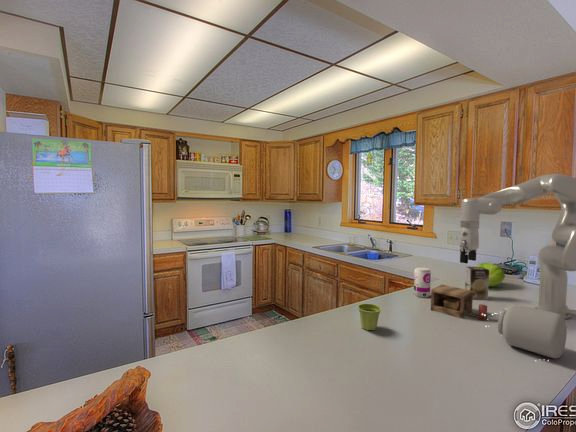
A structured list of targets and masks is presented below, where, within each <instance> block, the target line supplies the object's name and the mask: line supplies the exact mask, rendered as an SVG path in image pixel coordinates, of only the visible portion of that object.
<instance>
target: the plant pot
mask: <svg viewBox="0 0 576 432" xmlns="http://www.w3.org/2000/svg"><path fill="white" fill-rule="evenodd" d="M357 308H358V310H359V311H358V312H359V316H360V325H361V328H362V329H363V330H365V329H366V330H365V331H368V330H373V331H376V330H377V329H378V328H377V327H378V323H379V317H380V316H379V315H380V314H381V311H382V308H381V306H379V305H377V304H374V303H367V302H366V303H360V304H359V305H357Z"/></svg>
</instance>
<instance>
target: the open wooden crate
mask: <svg viewBox="0 0 576 432" xmlns="http://www.w3.org/2000/svg"><path fill="white" fill-rule="evenodd" d="M430 298H431V299H430V311H434V312H437V313H441V314H445V315H448V316H451V317H456V318H459V319H464V318H465V313H464V311H466V312H470V313H473V300H474V299H473V291H471V290H466V289H465V288H460V287H455V286H450V285H446V284H440V285H438V286H436V287H434V288H430ZM448 298H450V299H454V300H458V301H459V310H460V311H456V310H453V309H449V308H445V307H444V300H446V299H448Z"/></svg>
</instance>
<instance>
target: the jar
mask: <svg viewBox="0 0 576 432" xmlns="http://www.w3.org/2000/svg"><path fill="white" fill-rule="evenodd" d="M534 308H535V307H531V306H524V305H520V304H512V305H509V307H507V308H506V309H502V310H501V311H500V312H499V315H498V320H497V331H498V333H499V334H500V335H502V337H503V338H504V341H505V342H506V344H508V345H510V346H512V347H515V348H518V349H520V350H521V349H522V350H524V351H528V352H532V353H535V354H537V355H541V356H543V357H548V358H550V359H551V358H552V359H555V360H556V359H559V358H560V357H561V356H562V355H563V353H564V351H565V347H566V344H567V343H566V341H567V335H568V331H567V329H568V328H567V326H568V325H567V321H566V319H564V317H563V316H561V315H560V314H557V313H552V312H548V311H543V310H539V309H534ZM495 314H496V315H497V313H496V312H494V314H493V313H492V314H491V315H492V316H494V315H495ZM482 315H483V314H482ZM484 316H486V315H484ZM487 320H488V321H489V318H487ZM487 320H486V321H487ZM489 327H490V325H488V328H489ZM485 328H487V325H485ZM550 359H548V360H547V362H549V360H550ZM534 361H535V362H537V360H534ZM539 361H541V359H539ZM543 361H545V359H543Z"/></svg>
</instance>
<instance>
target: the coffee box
mask: <svg viewBox="0 0 576 432" xmlns="http://www.w3.org/2000/svg"><path fill="white" fill-rule="evenodd" d="M464 278H465V281H464V289H466V290H471V291H473V300H484V301H485V300H486V301H487V300H488V297H489V287H488V284H489V270H488V269H486V268H483V267H477V266H465V277H464Z"/></svg>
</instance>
